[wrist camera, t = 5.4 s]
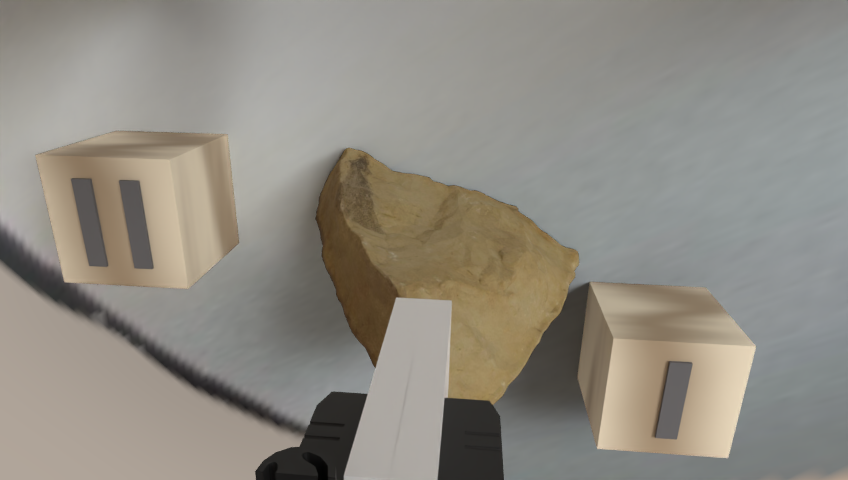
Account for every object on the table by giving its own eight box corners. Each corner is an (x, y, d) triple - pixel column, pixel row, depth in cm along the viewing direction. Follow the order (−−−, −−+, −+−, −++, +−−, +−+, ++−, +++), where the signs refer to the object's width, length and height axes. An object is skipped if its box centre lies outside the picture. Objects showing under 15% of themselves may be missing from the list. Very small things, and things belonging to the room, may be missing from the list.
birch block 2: (705, 286, 25) (757, 348, 20) (685, 382, 27) (729, 460, 22) (589, 281, 26) (614, 340, 21) (577, 376, 27) (597, 450, 23)
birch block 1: (228, 133, 25) (168, 160, 20) (239, 242, 27) (187, 290, 22) (117, 130, 25) (32, 155, 20) (136, 237, 27) (62, 283, 22)
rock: (237, 211, 23) (363, 411, 25) (265, 167, 16) (448, 464, 17) (439, 100, 28) (539, 276, 29) (542, 20, 20) (674, 268, 21)
